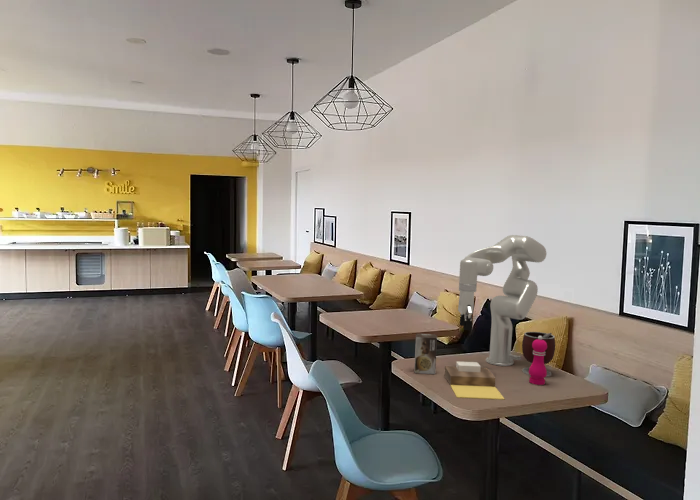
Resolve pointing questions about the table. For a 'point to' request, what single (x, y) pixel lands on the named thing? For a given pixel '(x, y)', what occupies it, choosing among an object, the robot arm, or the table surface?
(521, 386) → the table surface
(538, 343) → the pepper mill
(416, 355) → the coffee box
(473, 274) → the robot arm
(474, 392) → the mustard mat
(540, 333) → the mate gourd
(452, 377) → the walnut board
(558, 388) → the table surface
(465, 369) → the white rectangular block
